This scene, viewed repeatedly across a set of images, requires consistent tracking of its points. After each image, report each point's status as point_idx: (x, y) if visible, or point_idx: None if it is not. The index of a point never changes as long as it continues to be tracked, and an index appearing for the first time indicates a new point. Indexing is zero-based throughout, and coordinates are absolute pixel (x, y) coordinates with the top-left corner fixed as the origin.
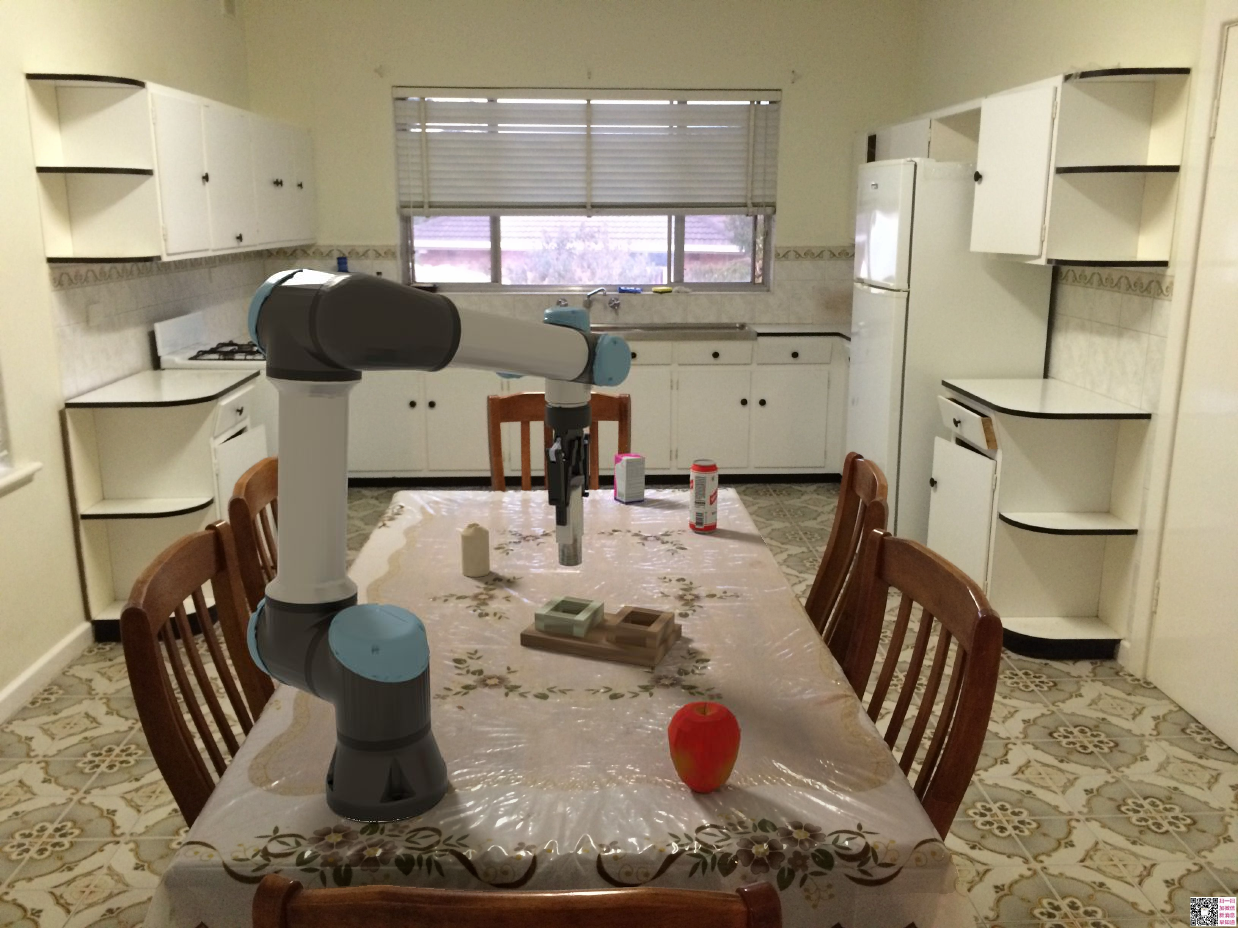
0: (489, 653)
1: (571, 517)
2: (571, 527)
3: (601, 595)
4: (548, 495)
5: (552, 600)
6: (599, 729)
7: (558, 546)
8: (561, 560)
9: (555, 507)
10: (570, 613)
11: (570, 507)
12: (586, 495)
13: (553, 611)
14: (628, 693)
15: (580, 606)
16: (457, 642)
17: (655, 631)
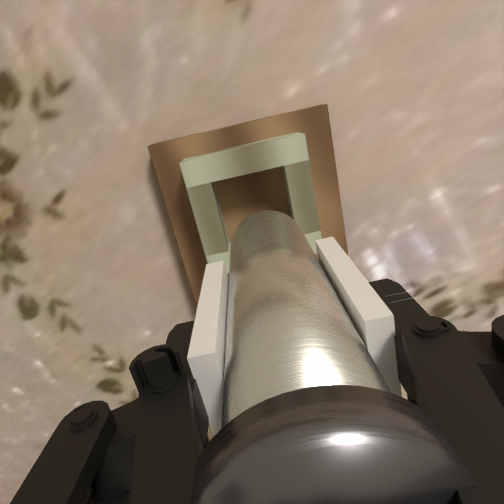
0: (77, 119)
1: None
2: None
3: (472, 120)
4: (32, 471)
5: (267, 148)
6: (19, 419)
7: (240, 241)
8: (231, 244)
9: (189, 349)
10: (284, 182)
11: (218, 429)
12: None
13: (213, 195)
14: (128, 394)
15: (291, 210)
16: (65, 11)
17: None
